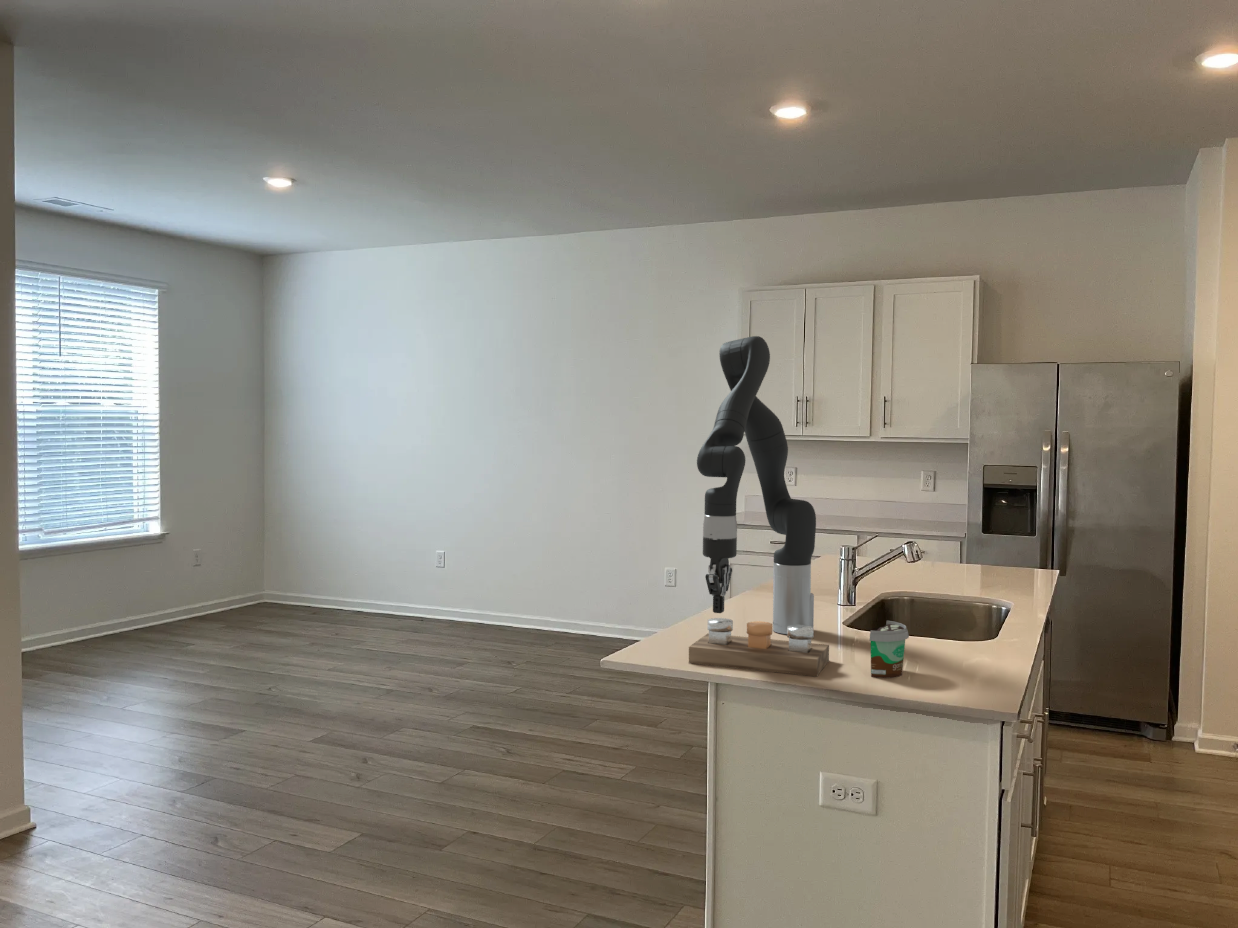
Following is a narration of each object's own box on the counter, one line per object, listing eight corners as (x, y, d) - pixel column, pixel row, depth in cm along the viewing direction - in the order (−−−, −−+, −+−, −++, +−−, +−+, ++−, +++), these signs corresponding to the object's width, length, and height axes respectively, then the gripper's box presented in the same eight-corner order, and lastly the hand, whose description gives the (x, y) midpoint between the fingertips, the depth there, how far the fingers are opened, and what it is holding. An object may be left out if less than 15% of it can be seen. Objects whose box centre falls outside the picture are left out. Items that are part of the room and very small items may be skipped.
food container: (898, 682, 199) (899, 634, 199) (868, 678, 202) (869, 630, 202) (915, 669, 210) (916, 623, 209) (886, 665, 213) (887, 619, 212)
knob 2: (790, 646, 215) (790, 623, 215) (815, 648, 213) (815, 626, 213) (784, 652, 210) (784, 629, 210) (810, 654, 208) (810, 631, 208)
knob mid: (750, 642, 219) (750, 620, 219) (774, 644, 217) (775, 622, 216) (743, 648, 214) (743, 625, 213) (768, 650, 212) (769, 627, 211)
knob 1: (711, 638, 222) (711, 617, 222) (735, 641, 220) (735, 619, 220) (704, 644, 217) (704, 621, 217) (728, 646, 215) (728, 624, 215)
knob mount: (707, 648, 227) (707, 633, 227) (828, 660, 217) (829, 644, 216) (688, 662, 214) (688, 646, 214) (816, 676, 204) (816, 659, 203)
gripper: (712, 531, 225) (711, 605, 226) (694, 537, 213) (693, 616, 214) (744, 533, 222) (742, 608, 223) (727, 539, 210) (726, 619, 211)
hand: (718, 612), depth 218 cm, fingers closed
